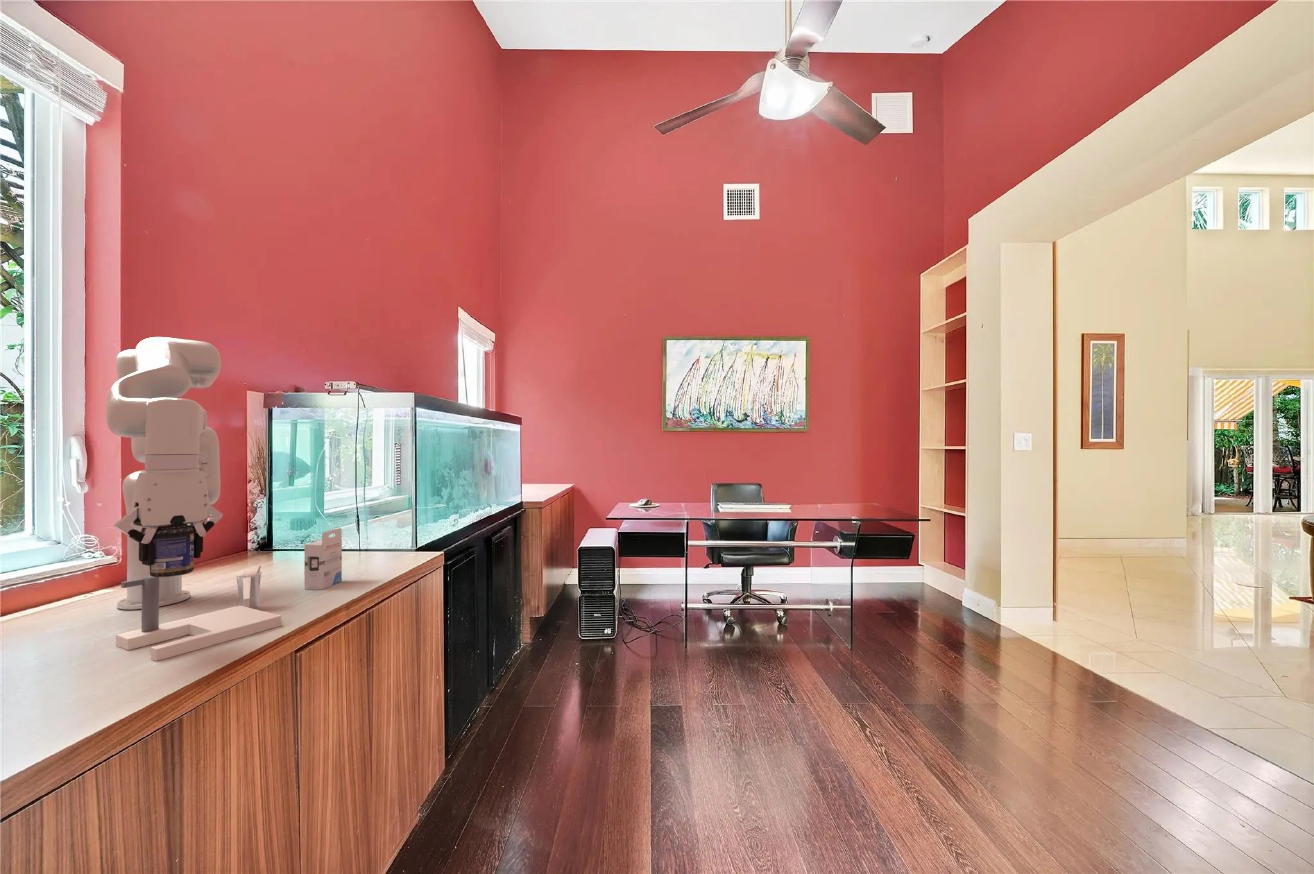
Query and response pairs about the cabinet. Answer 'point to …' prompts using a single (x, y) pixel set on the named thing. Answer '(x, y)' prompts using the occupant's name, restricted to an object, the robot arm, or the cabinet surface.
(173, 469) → the robot arm
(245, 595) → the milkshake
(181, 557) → the pill bottle
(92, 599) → the cabinet surface
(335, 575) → the ink box
